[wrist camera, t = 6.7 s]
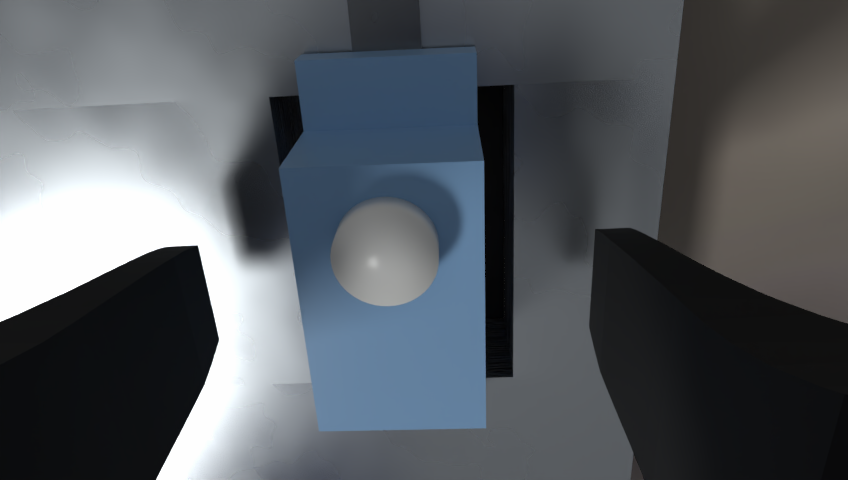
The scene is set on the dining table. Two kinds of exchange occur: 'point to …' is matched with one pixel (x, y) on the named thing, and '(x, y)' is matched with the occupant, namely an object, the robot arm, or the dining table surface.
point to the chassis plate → (266, 219)
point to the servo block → (390, 238)
